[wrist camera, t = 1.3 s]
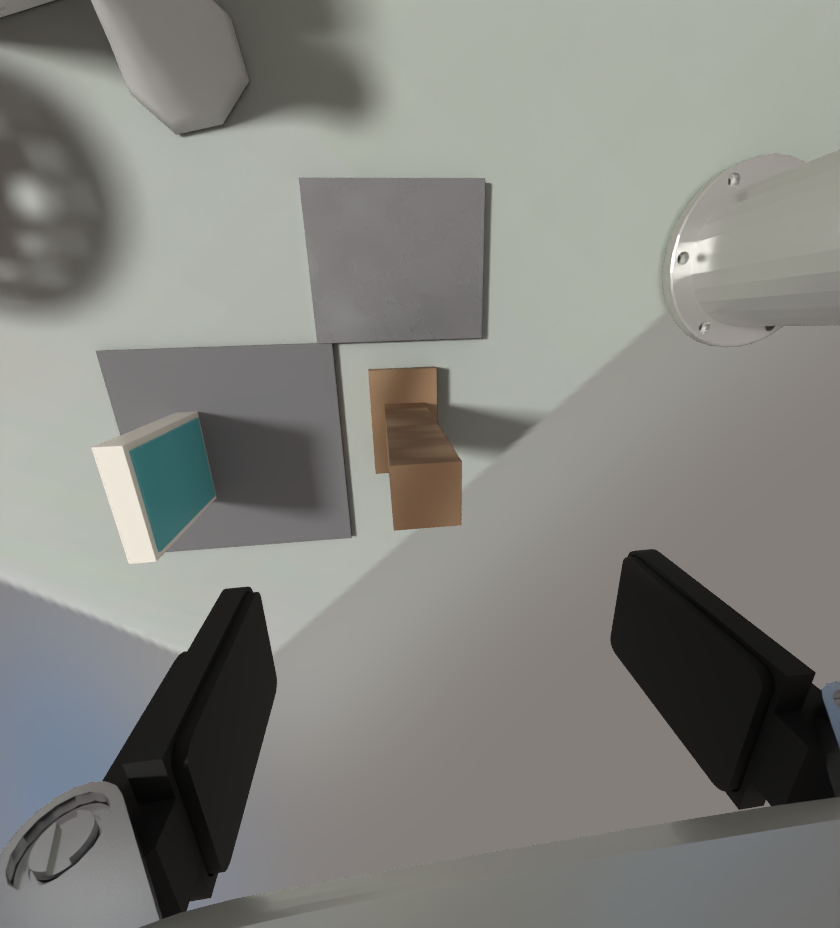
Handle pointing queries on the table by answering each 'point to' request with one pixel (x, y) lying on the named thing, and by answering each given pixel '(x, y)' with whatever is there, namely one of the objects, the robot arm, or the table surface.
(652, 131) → the table surface
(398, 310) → the plate
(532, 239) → the table surface
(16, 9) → the supplement box
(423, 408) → the wooden post stand
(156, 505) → the tile
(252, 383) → the mat
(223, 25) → the flask
